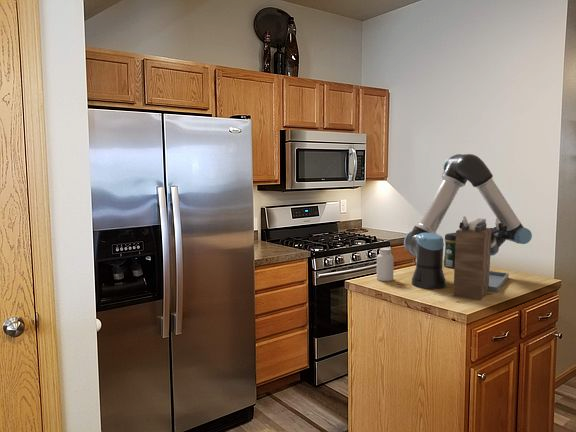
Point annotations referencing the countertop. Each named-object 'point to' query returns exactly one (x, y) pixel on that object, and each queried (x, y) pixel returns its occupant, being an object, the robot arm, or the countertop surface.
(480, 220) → the steel bar
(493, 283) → the slate tray
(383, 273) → the pill bottle
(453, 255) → the coffee jar
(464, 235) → the walnut stand
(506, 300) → the countertop surface
